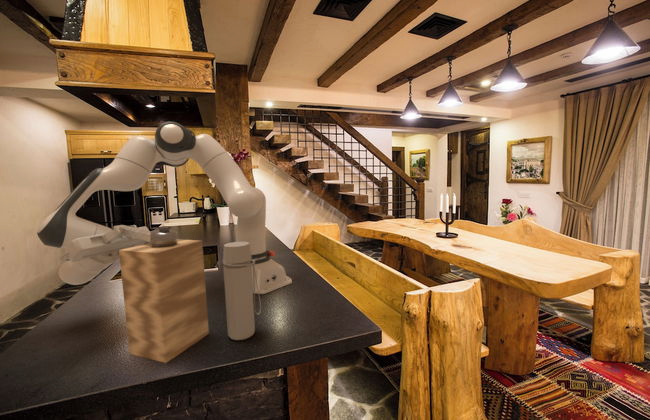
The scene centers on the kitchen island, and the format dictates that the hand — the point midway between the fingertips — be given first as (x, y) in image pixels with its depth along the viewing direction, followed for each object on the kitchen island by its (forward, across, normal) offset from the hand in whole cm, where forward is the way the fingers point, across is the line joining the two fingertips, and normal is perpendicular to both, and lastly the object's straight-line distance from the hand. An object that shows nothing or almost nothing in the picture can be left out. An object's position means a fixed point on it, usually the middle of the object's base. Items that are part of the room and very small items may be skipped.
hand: (127, 228), depth 80 cm
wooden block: (-4, 0, +32) cm, 32 cm away
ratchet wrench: (+4, 0, +5) cm, 7 cm away
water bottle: (+9, +10, +40) cm, 42 cm away
